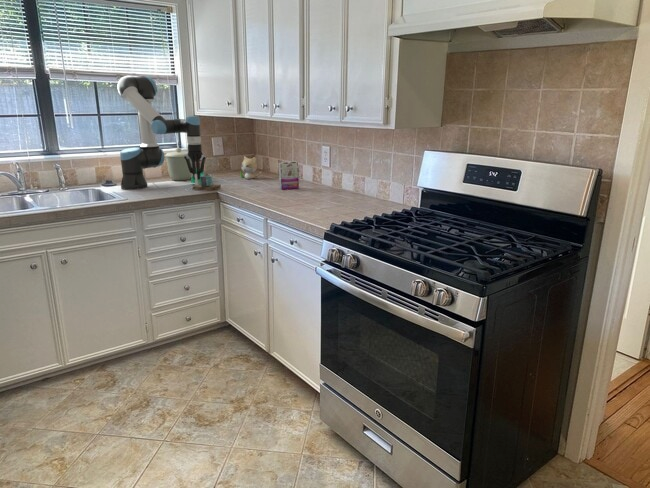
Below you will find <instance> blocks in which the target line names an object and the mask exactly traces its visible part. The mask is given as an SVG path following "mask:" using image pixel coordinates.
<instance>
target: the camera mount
mask: <svg viewBox="0 0 650 488" xmlns="http://www.w3.org/2000/svg"><path fill="white" fill-rule="evenodd" d="M196 172H197V169H196ZM204 172H205V171H204V170H203V172H202V173H200V176H201V175H204ZM212 182H213V183H214V179H212ZM190 183H191V184H195V179H193V175H191V178H190ZM199 184H201V179H199Z"/></svg>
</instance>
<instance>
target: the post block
mask: <svg viewBox="0 0 650 488" xmlns="http://www.w3.org/2000/svg"><path fill="white" fill-rule="evenodd" d="M203 175H204V176H208V175H209V172H208V171H204V173H203ZM221 185H222V184H220V183H219V184H218V183H213V184H212V185H211V186H207V187H202V186H201V184H199V185H195V184H194V186H192V191H212V192H213V191H214V192H215V191H217V190H219V189H221V188H222V186H221Z"/></svg>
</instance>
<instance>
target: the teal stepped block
mask: <svg viewBox="0 0 650 488" xmlns="http://www.w3.org/2000/svg"><path fill="white" fill-rule="evenodd" d="M200 179H201V186H202V187H207V186H211V185H212V184H214V181H213V182H212V180H213V175H212V174H208V176H204V174H203V175H201V176H200Z"/></svg>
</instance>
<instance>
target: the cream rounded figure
mask: <svg viewBox="0 0 650 488" xmlns="http://www.w3.org/2000/svg"><path fill="white" fill-rule="evenodd" d="M240 167H241V170H240V172H239V175H240V178H241V179H243V178H245V180H249V179H250V180H252V179H255V178H257V177H259V176H261V175H262V171H259V172H258V173H256V174H255V172H256V171H257V169H258V163H257V156H254V157H252V158H248V157H247V156H245V155H243V161H242V162H241V166H240ZM242 172H243V173H245V174H244V175H243V174H242Z"/></svg>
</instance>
